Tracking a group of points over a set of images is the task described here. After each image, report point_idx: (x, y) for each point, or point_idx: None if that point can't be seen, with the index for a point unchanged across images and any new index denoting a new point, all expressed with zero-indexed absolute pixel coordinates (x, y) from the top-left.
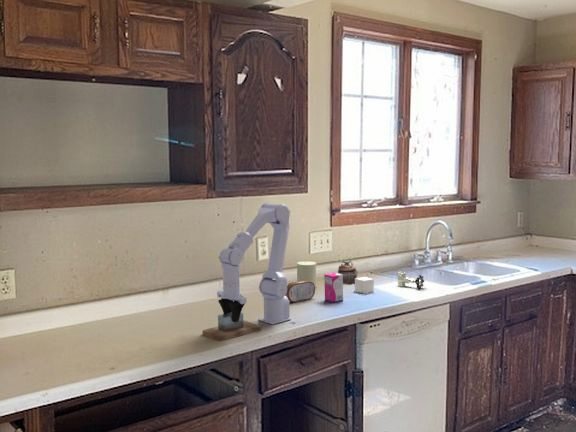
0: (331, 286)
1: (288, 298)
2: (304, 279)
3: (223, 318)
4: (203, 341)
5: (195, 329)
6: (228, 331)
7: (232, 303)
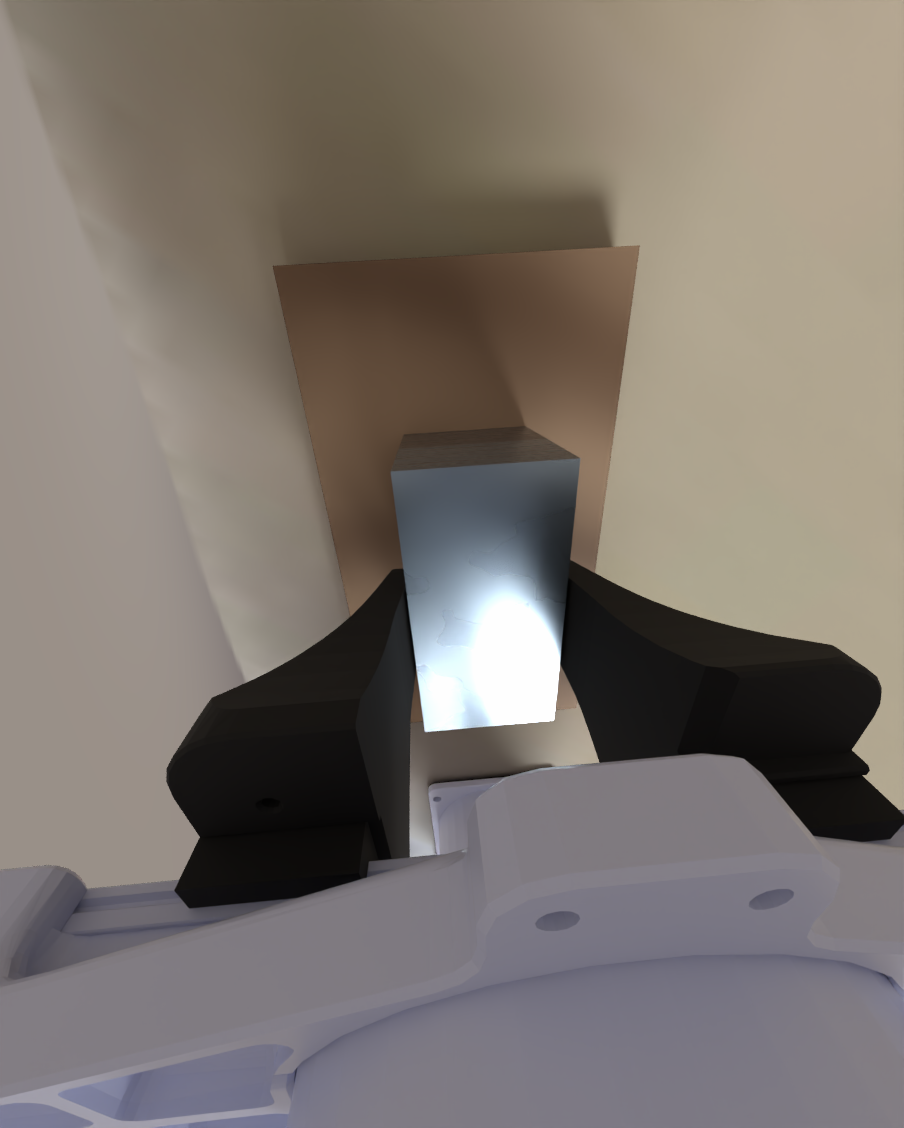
0: None
1: None
2: None
3: (428, 465)
4: (385, 75)
5: (806, 302)
6: None
7: (241, 766)
